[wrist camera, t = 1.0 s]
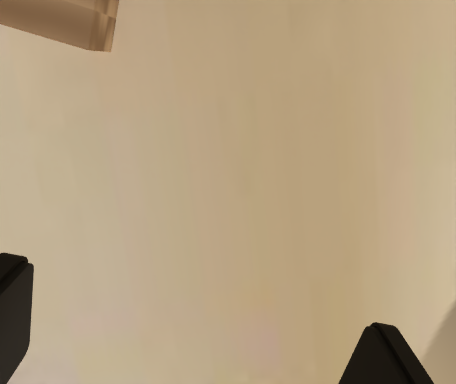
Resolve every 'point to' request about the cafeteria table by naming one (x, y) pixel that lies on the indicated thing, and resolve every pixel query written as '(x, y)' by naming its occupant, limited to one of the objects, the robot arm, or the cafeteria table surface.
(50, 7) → the block
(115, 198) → the cafeteria table surface
